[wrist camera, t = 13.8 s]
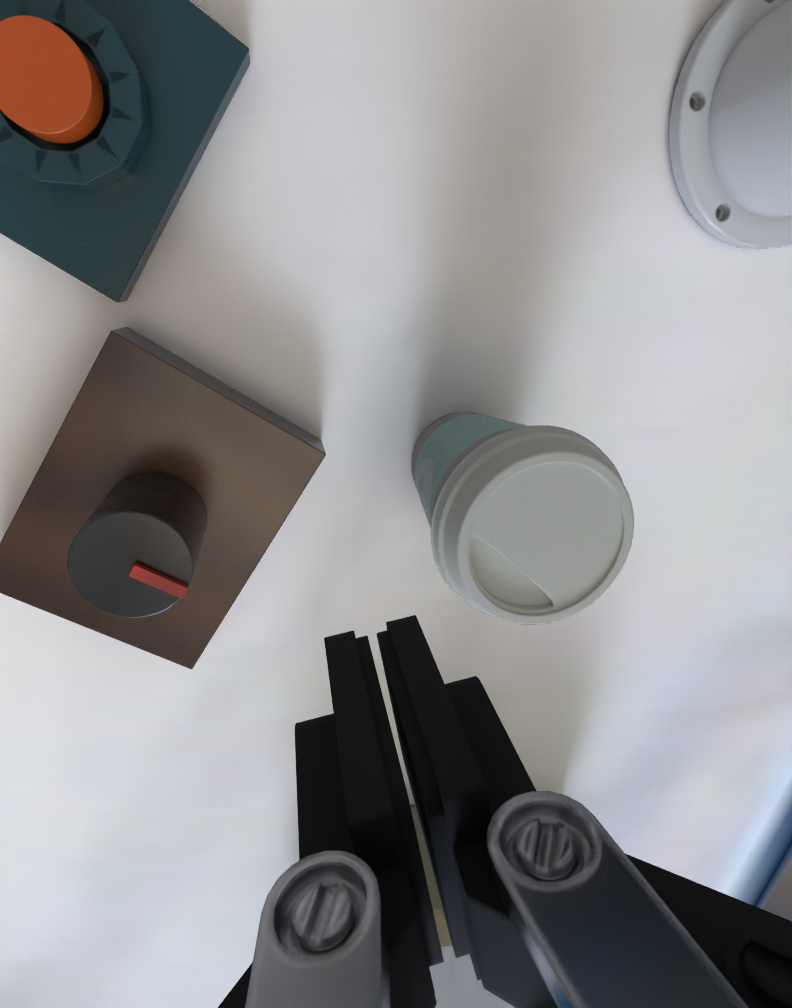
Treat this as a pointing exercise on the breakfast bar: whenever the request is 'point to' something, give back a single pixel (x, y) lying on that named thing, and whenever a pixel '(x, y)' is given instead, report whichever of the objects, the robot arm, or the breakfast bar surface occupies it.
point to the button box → (119, 136)
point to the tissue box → (452, 954)
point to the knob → (139, 546)
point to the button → (47, 81)
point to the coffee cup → (521, 515)
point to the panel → (165, 449)
